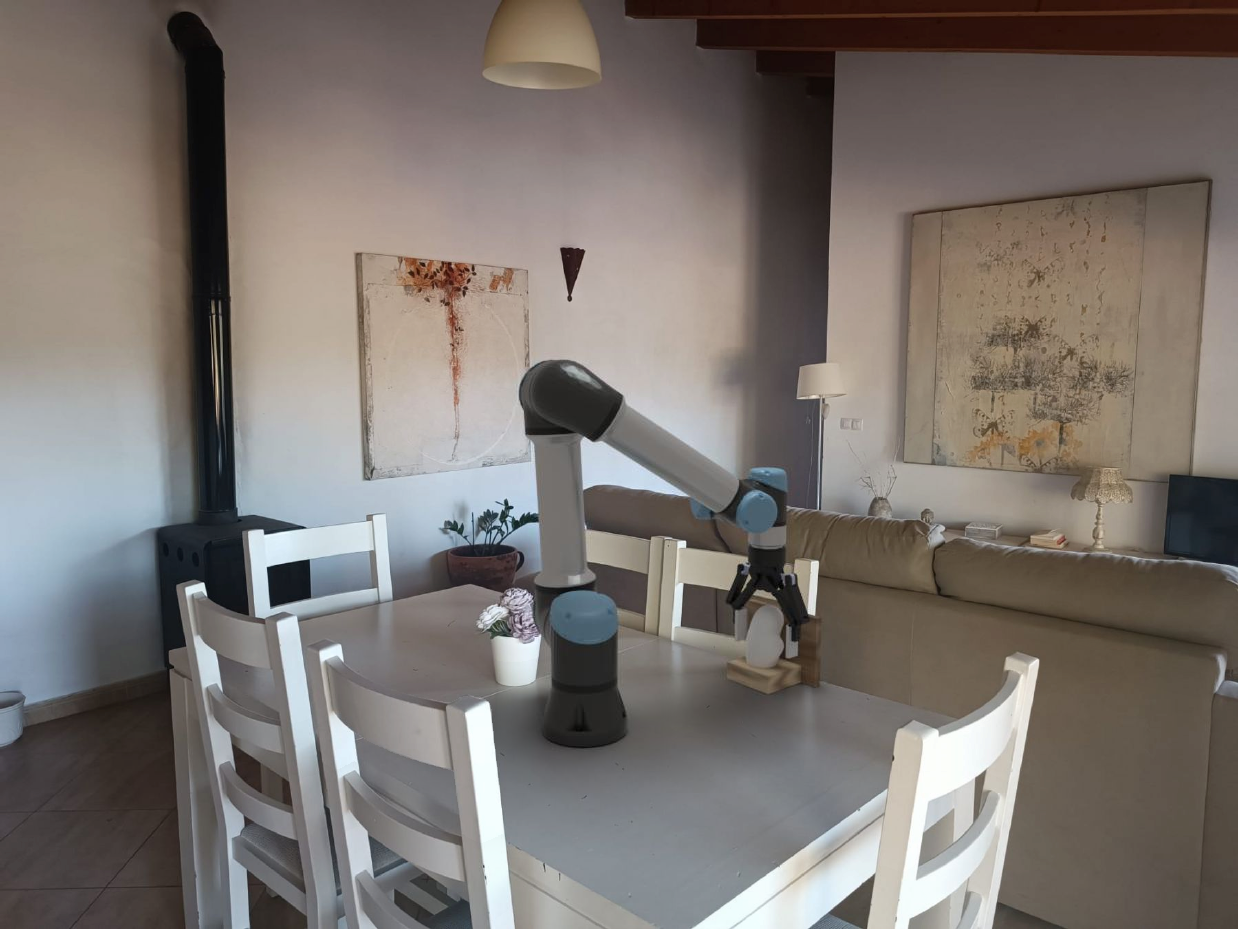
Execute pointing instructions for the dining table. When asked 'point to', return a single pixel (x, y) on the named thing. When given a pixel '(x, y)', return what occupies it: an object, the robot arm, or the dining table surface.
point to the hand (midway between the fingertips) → (765, 648)
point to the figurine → (765, 637)
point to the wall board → (782, 659)
